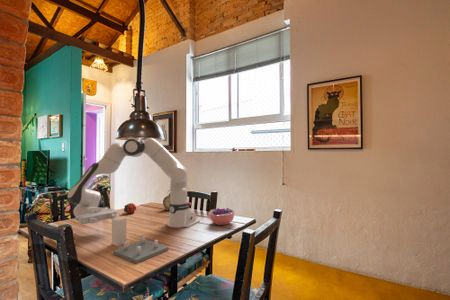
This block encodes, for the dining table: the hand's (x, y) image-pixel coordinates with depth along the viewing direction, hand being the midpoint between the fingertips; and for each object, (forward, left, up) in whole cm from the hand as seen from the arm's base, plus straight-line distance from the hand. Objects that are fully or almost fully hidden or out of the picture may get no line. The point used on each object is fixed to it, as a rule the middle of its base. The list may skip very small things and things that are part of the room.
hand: (105, 218), depth 136 cm
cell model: (-60, +35, -11) cm, 71 cm away
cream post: (0, +12, -11) cm, 17 cm away
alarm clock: (-67, -22, -11) cm, 71 cm away
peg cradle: (0, +30, -11) cm, 32 cm away
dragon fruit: (-42, -39, -11) cm, 58 cm away
